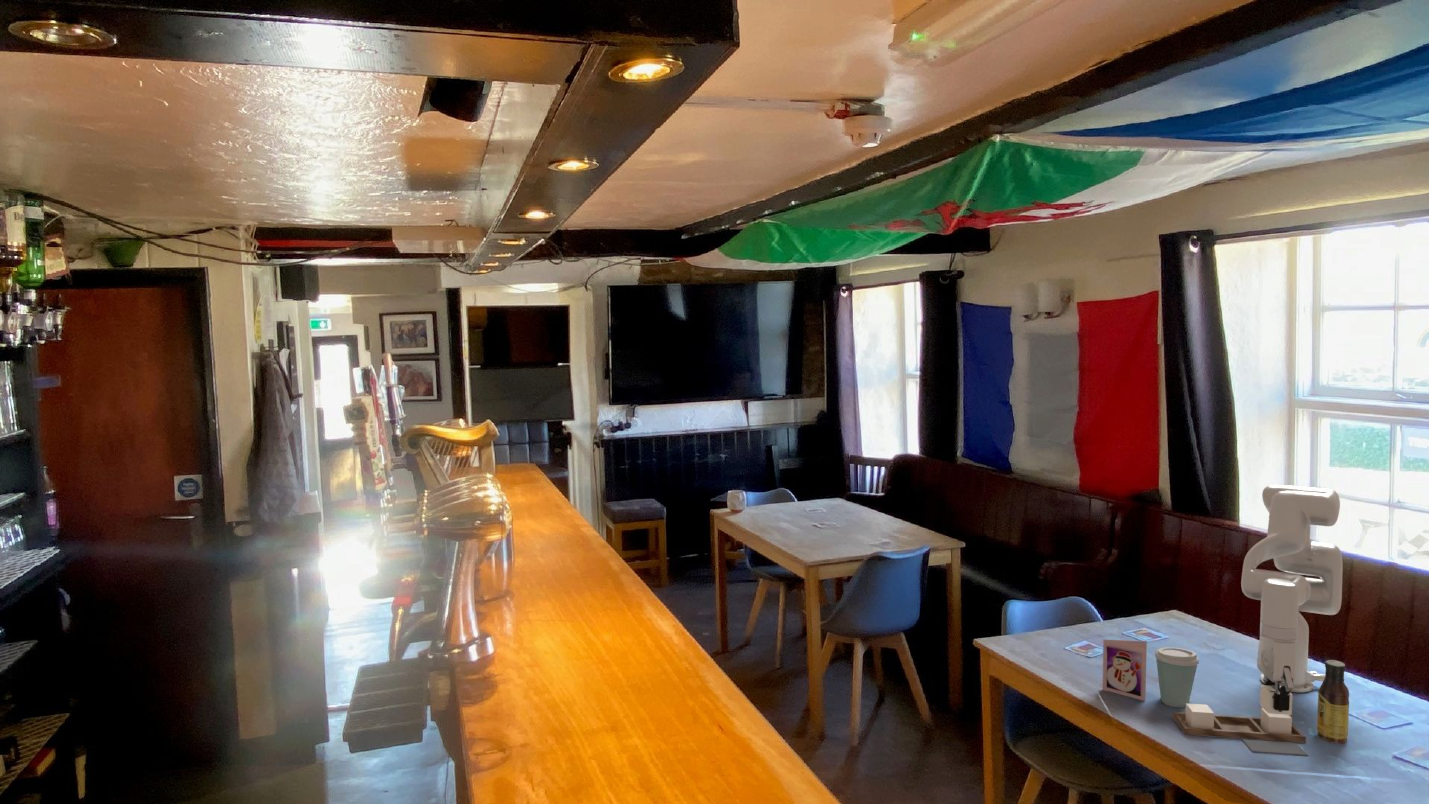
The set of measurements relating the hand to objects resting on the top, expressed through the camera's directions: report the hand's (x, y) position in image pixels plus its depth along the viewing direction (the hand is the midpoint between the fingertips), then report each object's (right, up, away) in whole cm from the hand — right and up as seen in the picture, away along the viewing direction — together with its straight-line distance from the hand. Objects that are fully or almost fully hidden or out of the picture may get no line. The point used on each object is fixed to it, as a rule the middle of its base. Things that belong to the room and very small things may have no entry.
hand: (1275, 704), depth 208 cm
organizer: (-3, -11, +11) cm, 16 cm away
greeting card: (-19, -9, +35) cm, 41 cm away
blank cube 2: (+6, -10, +9) cm, 15 cm away
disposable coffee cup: (-10, -10, +28) cm, 31 cm away
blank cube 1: (-11, -10, +13) cm, 20 cm away
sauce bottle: (+18, -11, +6) cm, 22 cm away
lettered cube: (0, -1, 0) cm, 1 cm away
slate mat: (0, -12, +1) cm, 12 cm away
